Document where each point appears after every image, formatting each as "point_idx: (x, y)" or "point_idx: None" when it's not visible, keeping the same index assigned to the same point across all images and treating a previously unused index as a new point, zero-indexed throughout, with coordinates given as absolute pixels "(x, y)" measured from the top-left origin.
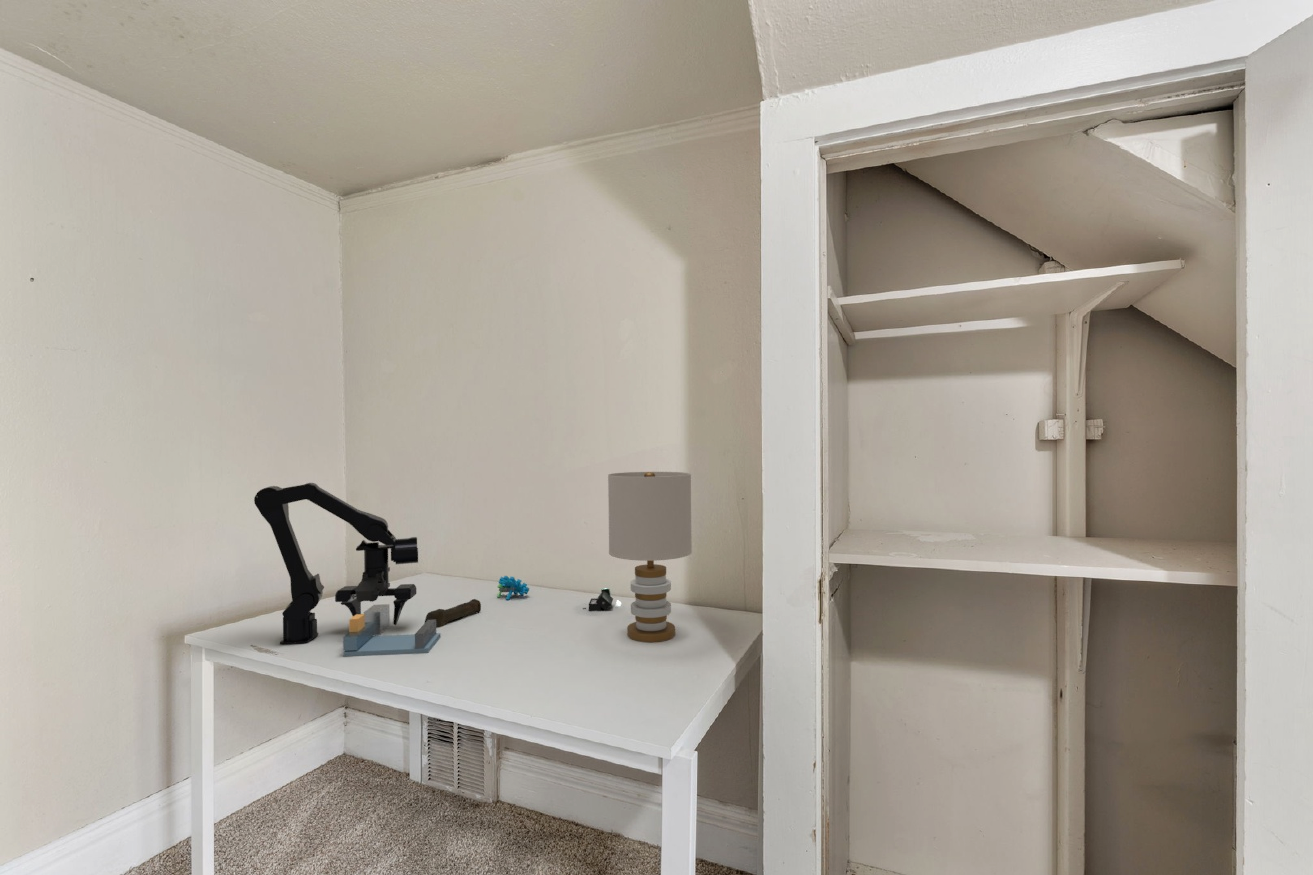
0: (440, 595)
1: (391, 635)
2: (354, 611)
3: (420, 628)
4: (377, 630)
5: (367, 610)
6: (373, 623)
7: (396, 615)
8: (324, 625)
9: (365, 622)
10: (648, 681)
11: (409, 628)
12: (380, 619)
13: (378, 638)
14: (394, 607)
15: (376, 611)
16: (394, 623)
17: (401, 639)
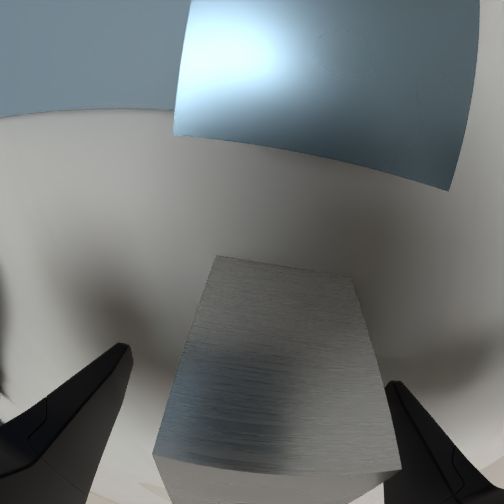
0: (159, 500)
1: (65, 99)
2: (451, 472)
3: None
4: (234, 282)
5: (347, 495)
6: (185, 81)
7: (67, 389)
8: (474, 422)
9: (378, 143)
10: None
11: (71, 320)
12: (181, 364)
13: (163, 19)
14: (41, 454)
15: (217, 473)
16: (117, 349)
17: (1, 10)
